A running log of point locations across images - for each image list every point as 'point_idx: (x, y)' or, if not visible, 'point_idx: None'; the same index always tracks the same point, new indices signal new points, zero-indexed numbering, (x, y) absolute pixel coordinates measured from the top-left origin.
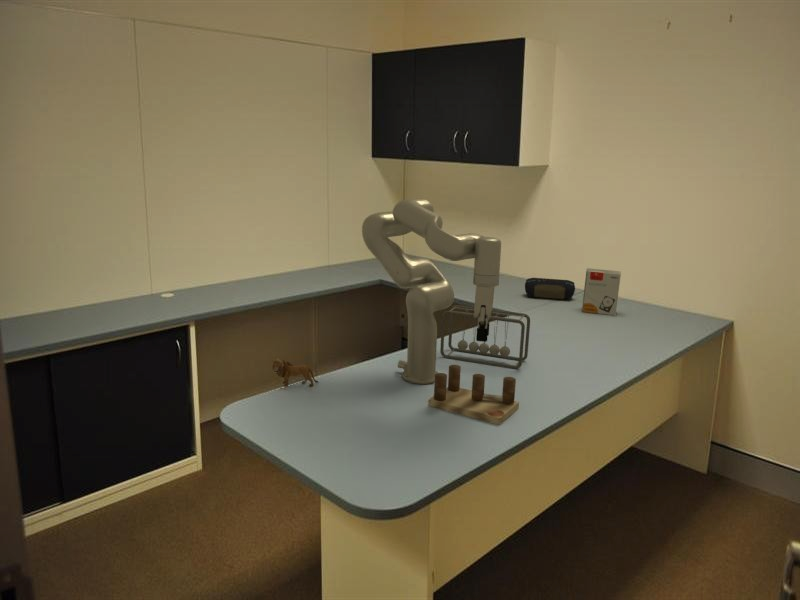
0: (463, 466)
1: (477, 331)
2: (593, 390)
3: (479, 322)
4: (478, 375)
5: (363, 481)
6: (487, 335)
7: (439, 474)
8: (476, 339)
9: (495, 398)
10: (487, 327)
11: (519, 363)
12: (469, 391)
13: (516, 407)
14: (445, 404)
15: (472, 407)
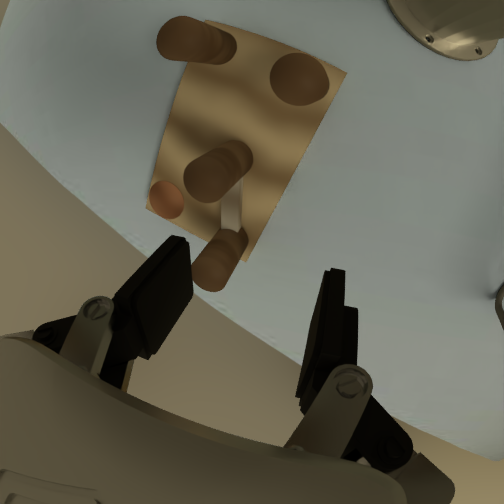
0: (36, 150)
1: (132, 279)
2: None
3: (32, 336)
4: (209, 179)
5: (3, 57)
6: (172, 321)
7: (20, 126)
8: (169, 238)
9: (221, 209)
10: (302, 368)
11: (498, 308)
12: (300, 134)
13: None
14: (185, 70)
15: (180, 144)
